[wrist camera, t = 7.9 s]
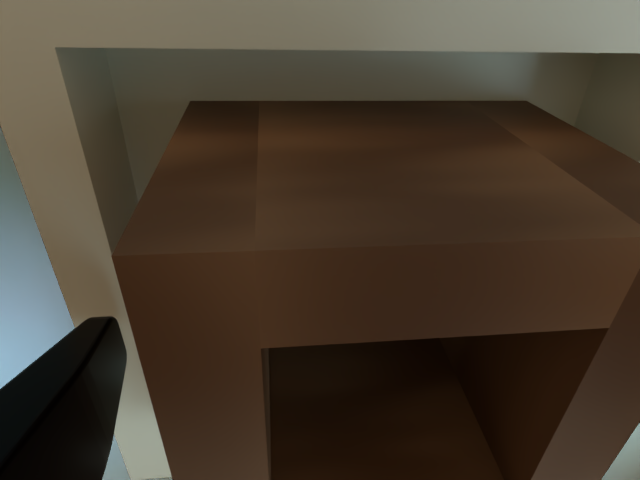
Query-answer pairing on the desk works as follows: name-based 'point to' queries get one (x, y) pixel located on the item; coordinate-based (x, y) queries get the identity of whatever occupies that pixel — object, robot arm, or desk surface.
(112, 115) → the tray
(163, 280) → the wooden shaft bracket
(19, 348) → the desk surface
